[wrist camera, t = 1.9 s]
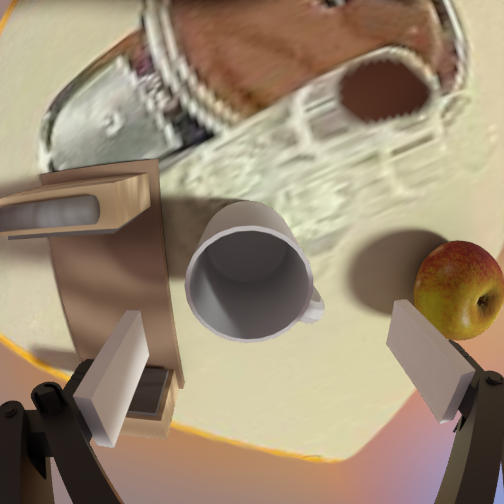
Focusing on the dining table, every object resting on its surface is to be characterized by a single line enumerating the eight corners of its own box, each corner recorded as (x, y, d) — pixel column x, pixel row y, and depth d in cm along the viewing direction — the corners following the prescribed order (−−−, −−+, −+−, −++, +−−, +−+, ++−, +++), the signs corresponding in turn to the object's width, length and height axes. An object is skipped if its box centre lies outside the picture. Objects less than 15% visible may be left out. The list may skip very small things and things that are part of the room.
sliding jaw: (44, 185, 22) (-21, 204, 14) (148, 172, 23) (101, 186, 14) (48, 219, 23) (-14, 249, 15) (151, 211, 24) (107, 243, 15)
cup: (234, 181, 24) (229, 198, 16) (333, 249, 26) (371, 294, 18) (186, 255, 26) (162, 304, 18) (283, 313, 28) (299, 377, 20)
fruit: (482, 241, 27) (532, 268, 19) (454, 318, 29) (494, 356, 22) (416, 222, 26) (468, 249, 18) (387, 311, 29) (424, 358, 21)
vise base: (47, 173, 23) (-10, 186, 16) (158, 158, 24) (122, 163, 16) (91, 375, 30) (65, 424, 23) (184, 382, 30) (172, 440, 23)
